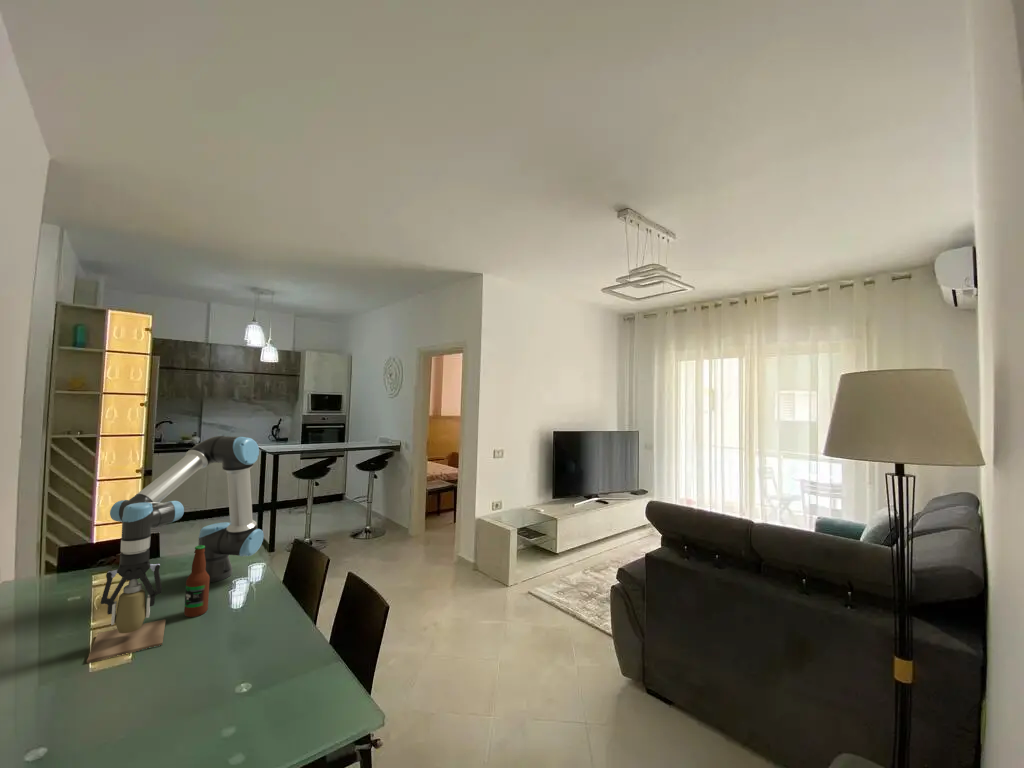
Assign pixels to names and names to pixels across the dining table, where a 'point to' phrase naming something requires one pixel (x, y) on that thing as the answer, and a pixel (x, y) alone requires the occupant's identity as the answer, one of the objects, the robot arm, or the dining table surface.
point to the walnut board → (127, 641)
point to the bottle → (197, 586)
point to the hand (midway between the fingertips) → (130, 619)
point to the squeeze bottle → (131, 608)
